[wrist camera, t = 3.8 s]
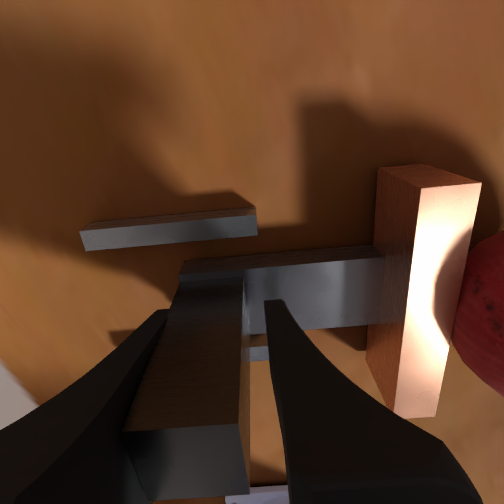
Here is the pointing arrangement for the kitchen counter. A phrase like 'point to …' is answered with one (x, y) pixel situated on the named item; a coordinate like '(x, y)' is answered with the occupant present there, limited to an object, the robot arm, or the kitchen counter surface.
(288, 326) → the robot arm
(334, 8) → the kitchen counter surface
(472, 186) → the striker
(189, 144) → the kitchen counter surface
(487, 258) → the onion
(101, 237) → the rail
